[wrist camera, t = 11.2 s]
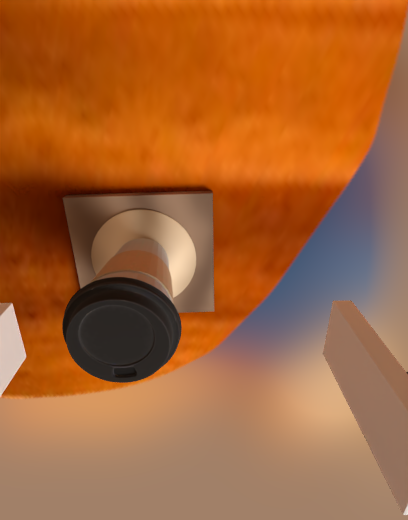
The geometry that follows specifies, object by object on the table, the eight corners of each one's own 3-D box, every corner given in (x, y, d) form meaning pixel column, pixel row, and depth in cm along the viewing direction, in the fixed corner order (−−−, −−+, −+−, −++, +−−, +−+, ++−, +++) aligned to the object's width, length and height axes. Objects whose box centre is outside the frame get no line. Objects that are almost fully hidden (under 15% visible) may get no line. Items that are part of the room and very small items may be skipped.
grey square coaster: (88, 310, 44) (85, 317, 43) (66, 194, 38) (61, 198, 37) (213, 306, 45) (214, 312, 43) (212, 190, 38) (212, 194, 37)
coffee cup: (134, 308, 43) (107, 406, 29) (84, 248, 39) (27, 328, 26) (199, 272, 41) (203, 358, 27) (154, 205, 37) (132, 267, 24)
